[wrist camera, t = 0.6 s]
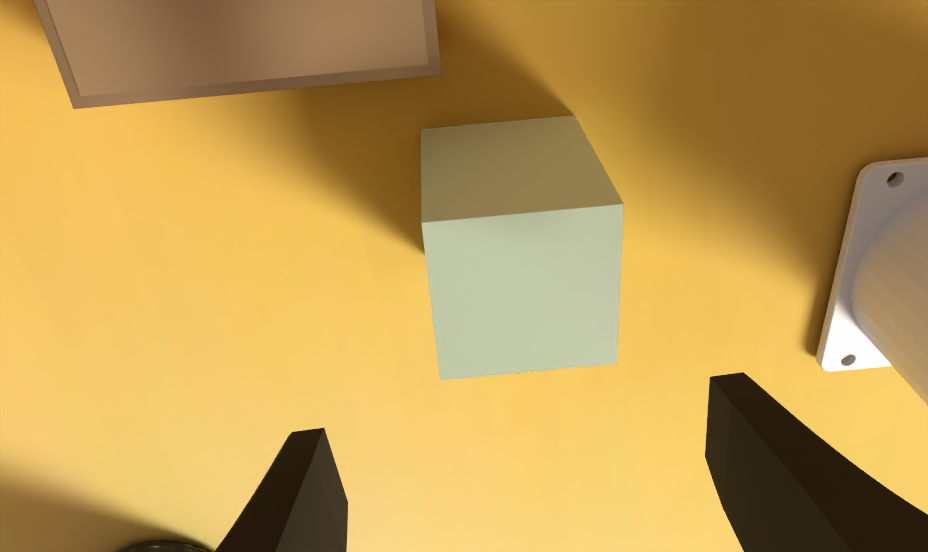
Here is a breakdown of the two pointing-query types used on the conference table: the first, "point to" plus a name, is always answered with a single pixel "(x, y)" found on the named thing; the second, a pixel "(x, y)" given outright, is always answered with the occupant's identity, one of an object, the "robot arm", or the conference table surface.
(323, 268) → the conference table surface
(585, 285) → the sage block
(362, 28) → the walnut box
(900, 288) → the robot arm
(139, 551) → the pill bottle
